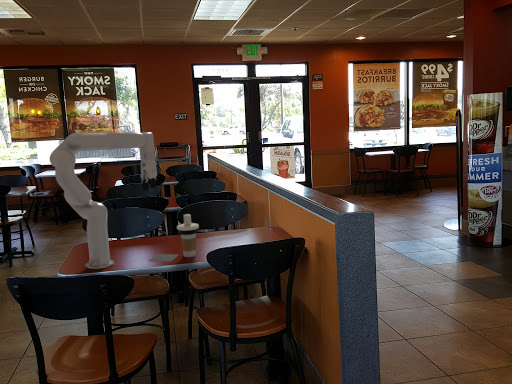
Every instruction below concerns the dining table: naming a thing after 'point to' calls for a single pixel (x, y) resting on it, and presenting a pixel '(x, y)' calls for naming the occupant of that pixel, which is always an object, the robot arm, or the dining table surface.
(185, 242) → the coffee cup
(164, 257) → the mat
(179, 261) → the dining table surface
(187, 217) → the lid
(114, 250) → the dining table surface
